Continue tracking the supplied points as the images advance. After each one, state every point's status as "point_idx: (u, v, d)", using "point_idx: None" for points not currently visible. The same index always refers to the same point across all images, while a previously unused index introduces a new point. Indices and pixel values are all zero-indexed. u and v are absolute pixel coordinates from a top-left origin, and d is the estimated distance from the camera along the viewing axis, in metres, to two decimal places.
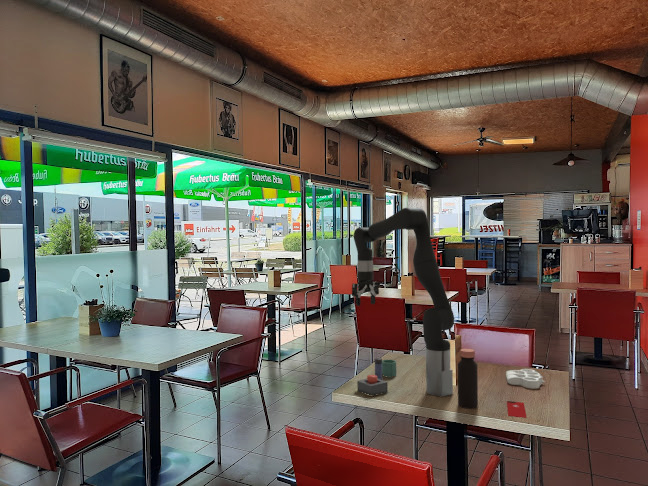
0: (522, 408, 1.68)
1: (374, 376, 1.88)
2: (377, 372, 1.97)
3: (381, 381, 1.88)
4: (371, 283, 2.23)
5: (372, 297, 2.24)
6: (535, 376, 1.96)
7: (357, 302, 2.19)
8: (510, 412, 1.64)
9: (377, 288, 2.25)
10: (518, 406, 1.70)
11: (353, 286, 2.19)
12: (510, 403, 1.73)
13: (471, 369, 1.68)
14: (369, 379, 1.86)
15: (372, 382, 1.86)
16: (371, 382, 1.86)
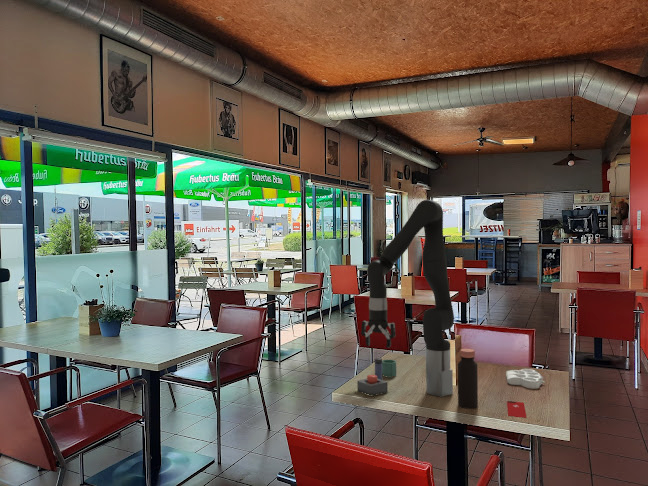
0: (522, 408, 1.68)
1: (374, 376, 1.88)
2: (377, 372, 1.97)
3: (381, 381, 1.88)
4: None
5: (369, 338, 2.01)
6: (535, 376, 1.96)
7: None
8: (510, 412, 1.64)
9: None
10: (518, 406, 1.70)
11: (394, 326, 1.96)
12: (510, 403, 1.73)
13: (471, 369, 1.68)
14: (369, 379, 1.86)
15: (372, 382, 1.86)
16: (371, 382, 1.86)
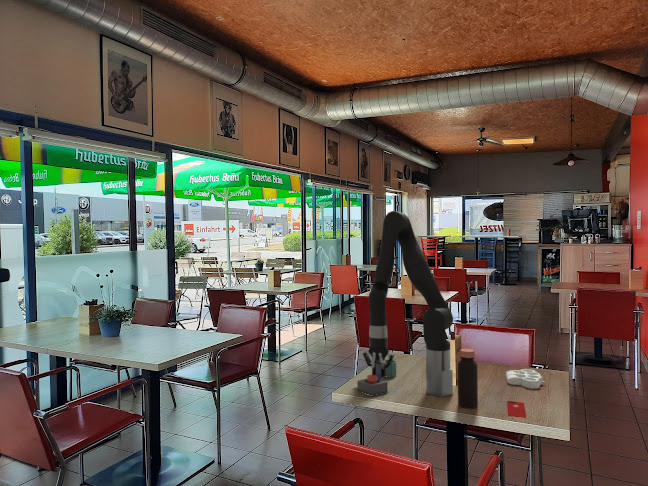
0: (522, 408, 1.67)
1: (374, 376, 1.88)
2: (378, 372, 1.97)
3: (381, 381, 1.88)
4: None
5: None
6: (535, 376, 1.96)
7: (385, 373, 1.98)
8: (510, 412, 1.64)
9: None
10: (518, 406, 1.70)
11: (392, 358, 1.96)
12: (510, 403, 1.73)
13: (471, 369, 1.68)
14: (369, 379, 1.86)
15: (372, 382, 1.86)
16: (371, 382, 1.86)
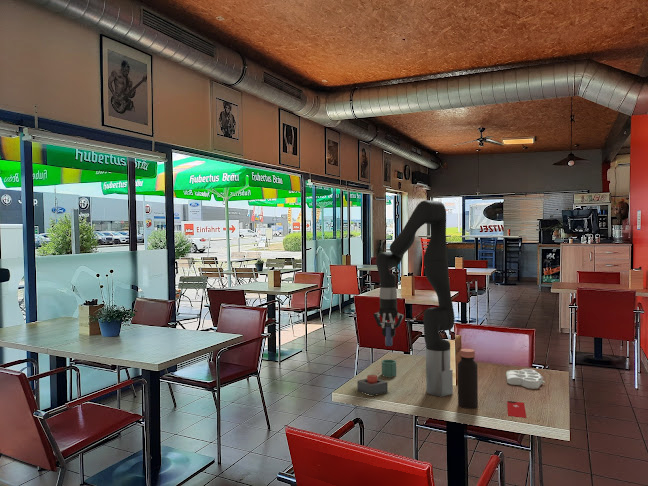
0: (522, 408, 1.67)
1: (374, 376, 1.88)
2: (387, 335, 2.08)
3: (381, 381, 1.88)
4: None
5: None
6: (535, 376, 1.96)
7: None
8: (510, 412, 1.64)
9: None
10: (518, 406, 1.70)
11: (402, 318, 2.07)
12: (510, 403, 1.73)
13: (471, 369, 1.68)
14: (369, 379, 1.86)
15: (372, 382, 1.86)
16: (371, 382, 1.86)
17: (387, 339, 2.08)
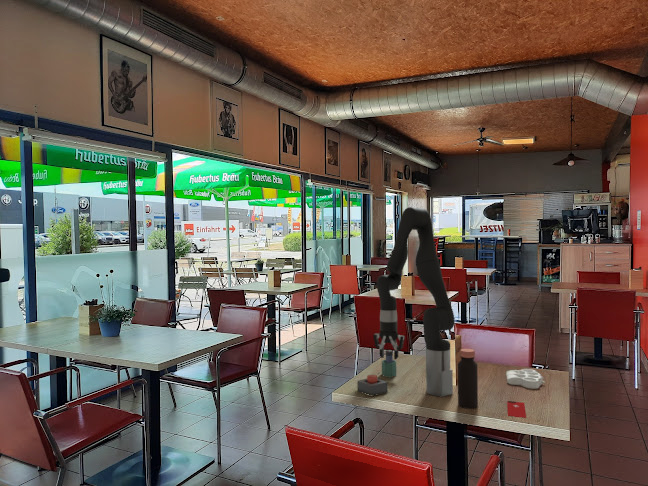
0: (522, 408, 1.67)
1: (374, 376, 1.88)
2: None
3: (381, 381, 1.88)
4: None
5: (383, 350, 2.11)
6: (535, 376, 1.96)
7: None
8: (510, 412, 1.64)
9: None
10: (518, 406, 1.70)
11: (403, 339, 2.07)
12: (510, 403, 1.73)
13: (471, 369, 1.68)
14: (369, 379, 1.86)
15: (372, 382, 1.86)
16: (371, 382, 1.86)
17: None
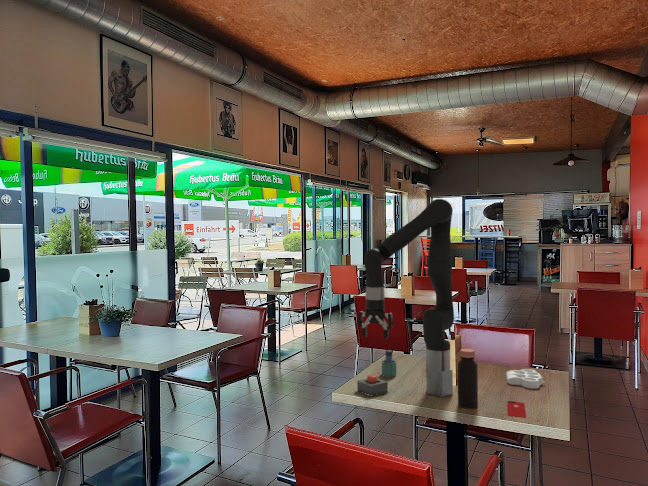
0: (522, 408, 1.67)
1: (374, 376, 1.88)
2: None
3: (381, 381, 1.88)
4: None
5: (366, 329, 1.94)
6: (535, 376, 1.96)
7: (388, 334, 1.91)
8: (510, 412, 1.64)
9: None
10: (518, 406, 1.70)
11: (391, 316, 1.89)
12: (510, 403, 1.73)
13: (471, 369, 1.68)
14: (369, 379, 1.86)
15: (372, 382, 1.86)
16: (371, 382, 1.86)
17: None
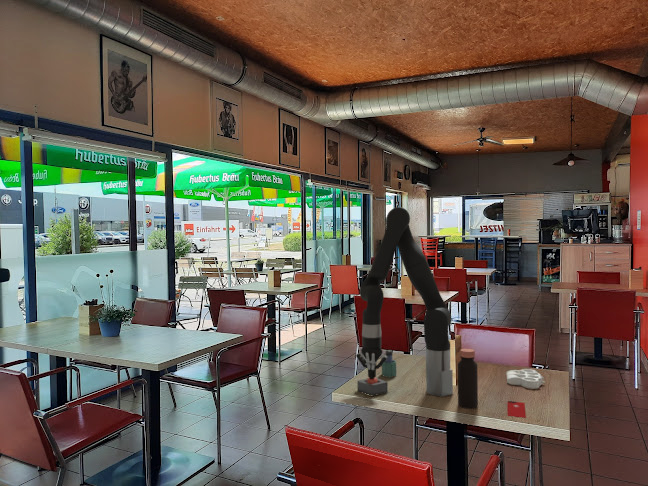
0: (522, 408, 1.67)
1: (374, 379, 1.88)
2: None
3: (381, 381, 1.88)
4: None
5: None
6: (535, 376, 1.96)
7: None
8: (510, 412, 1.64)
9: None
10: (518, 406, 1.70)
11: (385, 360, 1.86)
12: (510, 403, 1.73)
13: (471, 369, 1.68)
14: (369, 382, 1.86)
15: None
16: None
17: None
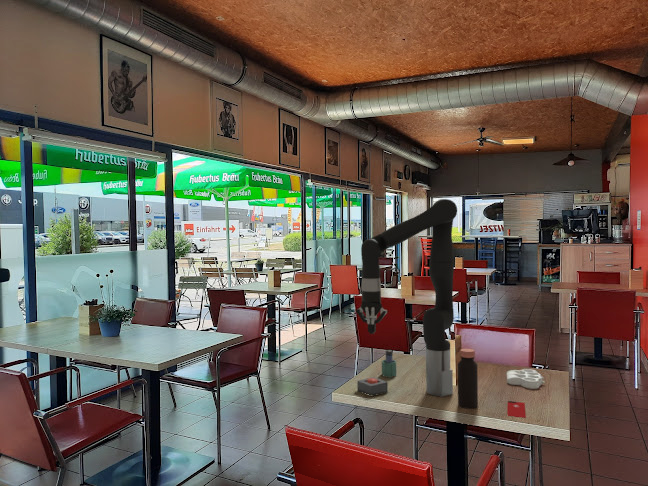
0: (522, 408, 1.67)
1: (374, 379, 1.88)
2: None
3: (381, 381, 1.88)
4: None
5: None
6: (535, 376, 1.96)
7: (375, 329, 1.88)
8: (510, 412, 1.64)
9: None
10: (518, 406, 1.70)
11: (385, 314, 1.85)
12: (511, 403, 1.73)
13: (471, 369, 1.68)
14: None
15: None
16: None
17: None
